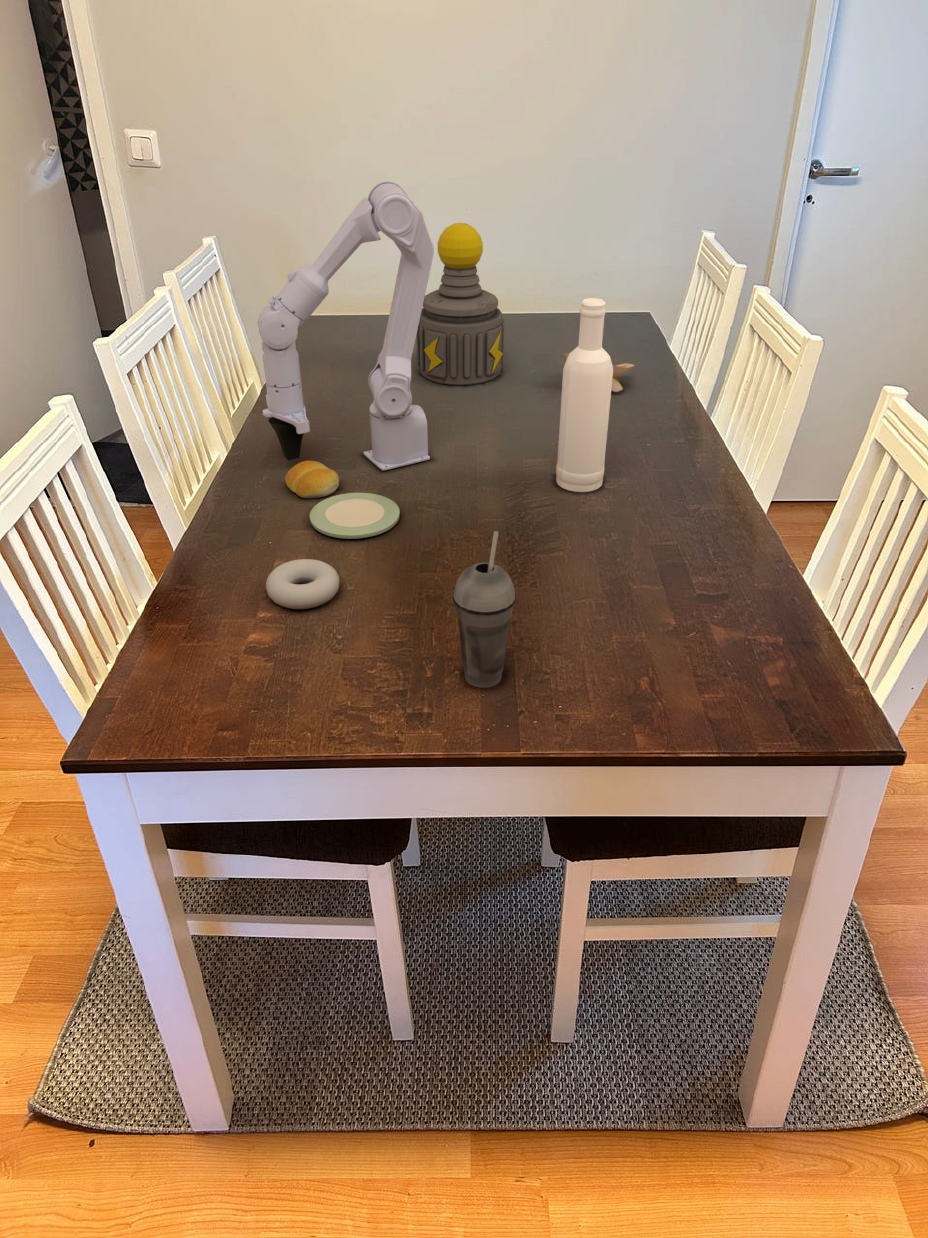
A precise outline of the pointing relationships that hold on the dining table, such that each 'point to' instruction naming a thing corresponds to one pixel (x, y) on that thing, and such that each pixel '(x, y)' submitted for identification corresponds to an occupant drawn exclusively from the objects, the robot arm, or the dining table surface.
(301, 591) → the donut
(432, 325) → the decorative lamp
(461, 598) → the beverage cup
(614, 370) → the decorative flower
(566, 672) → the dining table surface
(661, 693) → the dining table surface
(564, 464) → the bottle
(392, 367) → the robot arm
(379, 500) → the plate
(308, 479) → the bread roll
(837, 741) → the dining table surface
